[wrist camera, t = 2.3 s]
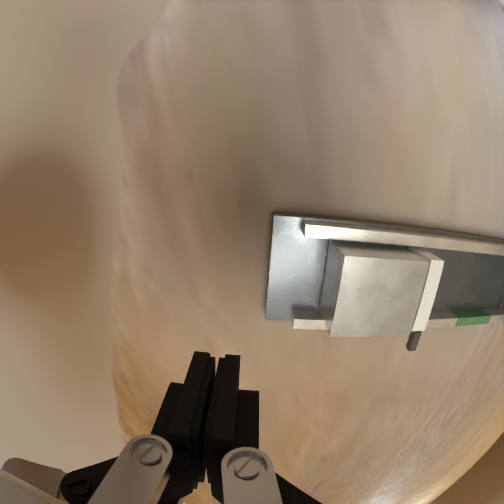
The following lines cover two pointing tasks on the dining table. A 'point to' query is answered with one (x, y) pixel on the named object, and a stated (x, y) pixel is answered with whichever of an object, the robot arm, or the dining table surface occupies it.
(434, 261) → the white slab
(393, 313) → the grey block
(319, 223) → the gauge bed
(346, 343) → the dining table surface
